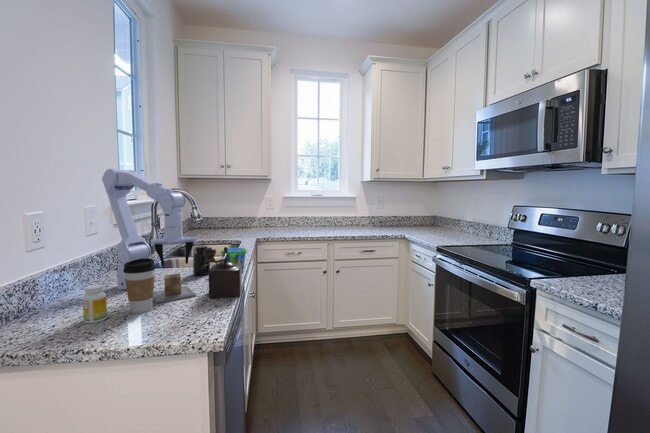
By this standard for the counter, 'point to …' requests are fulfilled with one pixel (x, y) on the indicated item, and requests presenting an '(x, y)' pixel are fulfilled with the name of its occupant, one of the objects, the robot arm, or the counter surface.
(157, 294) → the coaster
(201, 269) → the supplement bottle
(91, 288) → the supplement bottle
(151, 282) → the coffee cup
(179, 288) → the block
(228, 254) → the snack cup
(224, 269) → the manual coffee grinder
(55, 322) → the counter surface
